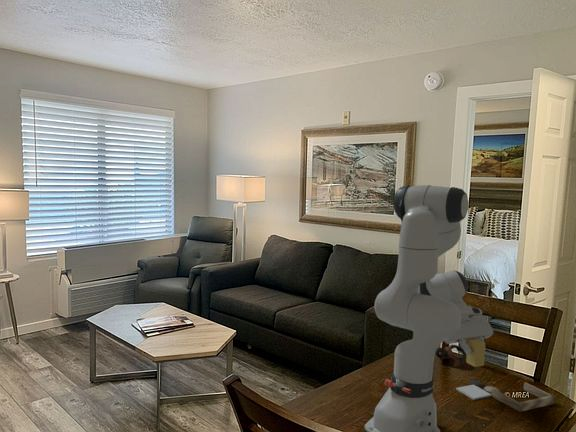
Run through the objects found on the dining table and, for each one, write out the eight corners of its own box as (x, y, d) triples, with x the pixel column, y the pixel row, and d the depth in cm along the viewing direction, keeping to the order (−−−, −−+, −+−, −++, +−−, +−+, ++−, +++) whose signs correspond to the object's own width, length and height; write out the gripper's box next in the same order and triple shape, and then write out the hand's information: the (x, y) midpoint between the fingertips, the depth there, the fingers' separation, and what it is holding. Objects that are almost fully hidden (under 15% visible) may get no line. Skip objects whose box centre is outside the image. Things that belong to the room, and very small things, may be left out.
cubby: (519, 411, 140) (519, 404, 140) (491, 396, 150) (492, 389, 150) (554, 403, 146) (555, 396, 146) (525, 389, 157) (526, 382, 156)
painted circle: (496, 394, 152) (496, 394, 152) (481, 389, 155) (481, 388, 155) (502, 390, 155) (502, 389, 155) (487, 385, 159) (487, 384, 159)
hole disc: (480, 388, 156) (480, 387, 156) (466, 383, 160) (466, 382, 160) (486, 384, 160) (486, 383, 160) (473, 379, 163) (473, 379, 163)
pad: (473, 400, 148) (473, 398, 147) (455, 389, 155) (456, 387, 155) (491, 396, 151) (491, 394, 150) (473, 386, 158) (473, 384, 158)
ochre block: (475, 367, 150) (476, 344, 149) (466, 362, 153) (467, 340, 153) (484, 365, 151) (485, 342, 151) (475, 361, 155) (476, 338, 154)
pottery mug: (455, 358, 185) (464, 345, 181) (461, 376, 177) (471, 363, 173) (428, 351, 184) (437, 337, 180) (433, 369, 176) (443, 355, 172)
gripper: (439, 313, 153) (458, 351, 145) (484, 308, 161) (504, 344, 153) (430, 322, 158) (448, 359, 150) (474, 317, 166) (493, 352, 157)
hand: (477, 351), depth 151 cm, fingers closed on ochre block, 4 cm apart
